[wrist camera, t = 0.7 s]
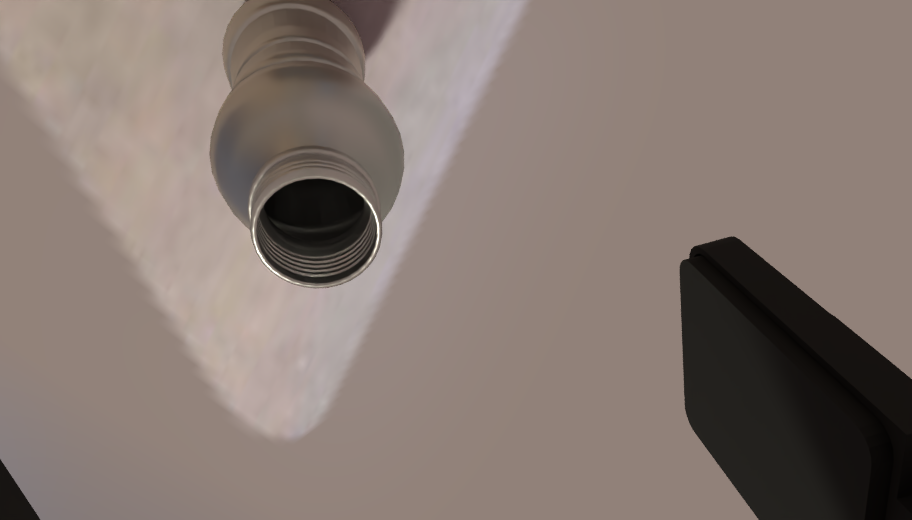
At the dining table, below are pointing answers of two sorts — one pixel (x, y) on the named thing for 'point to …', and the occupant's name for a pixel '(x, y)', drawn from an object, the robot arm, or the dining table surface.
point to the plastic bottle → (304, 141)
